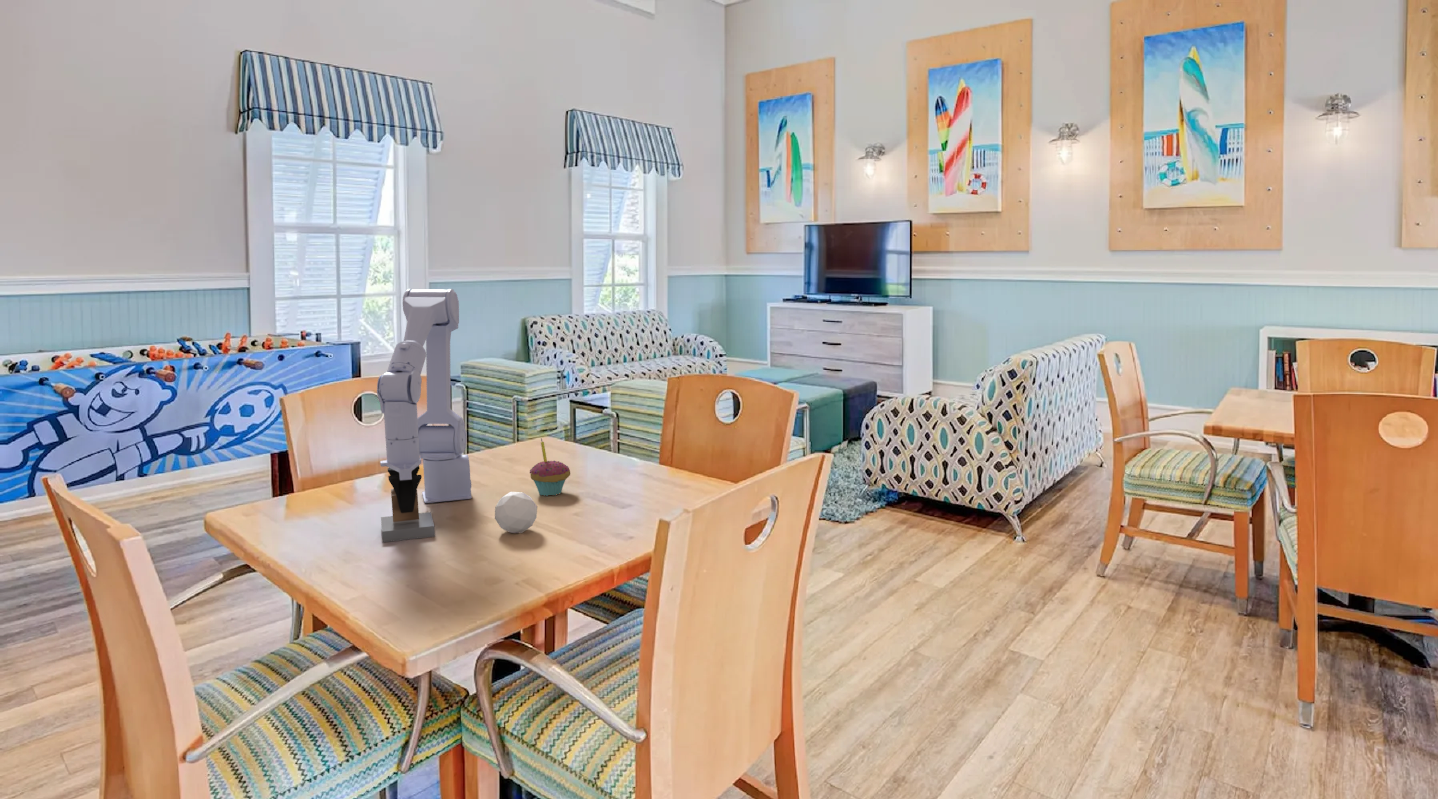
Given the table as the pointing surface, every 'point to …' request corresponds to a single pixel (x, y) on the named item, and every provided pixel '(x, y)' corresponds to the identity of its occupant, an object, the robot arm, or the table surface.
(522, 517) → the geometric ball
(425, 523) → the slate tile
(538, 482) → the cupcake
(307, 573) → the table surface
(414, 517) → the walnut block
